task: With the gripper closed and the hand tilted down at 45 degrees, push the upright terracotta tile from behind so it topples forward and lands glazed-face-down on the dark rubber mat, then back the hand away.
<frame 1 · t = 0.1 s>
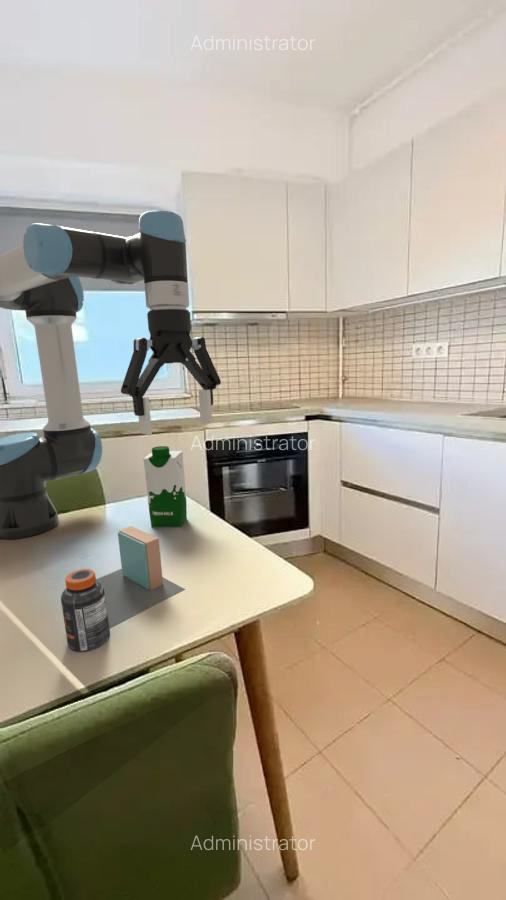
hand: (177, 428, 83), 28 cm above the table, tool pointing down, fingers open, 13 cm apart
tile: (142, 579, 83), point 1 cm above the table, touching mat
milk carton: (169, 524, 111), on the table
pill bottle: (90, 644, 66), on the table
mat: (123, 595, 79), on the table
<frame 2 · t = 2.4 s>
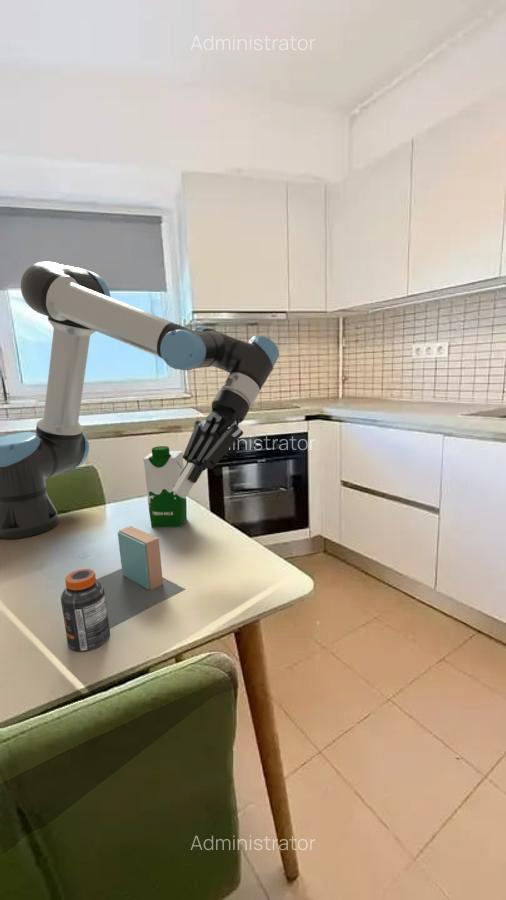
hand: (178, 494, 86), 15 cm above the table, tool tilted 45°, fingers closed
nothing on the table moved.
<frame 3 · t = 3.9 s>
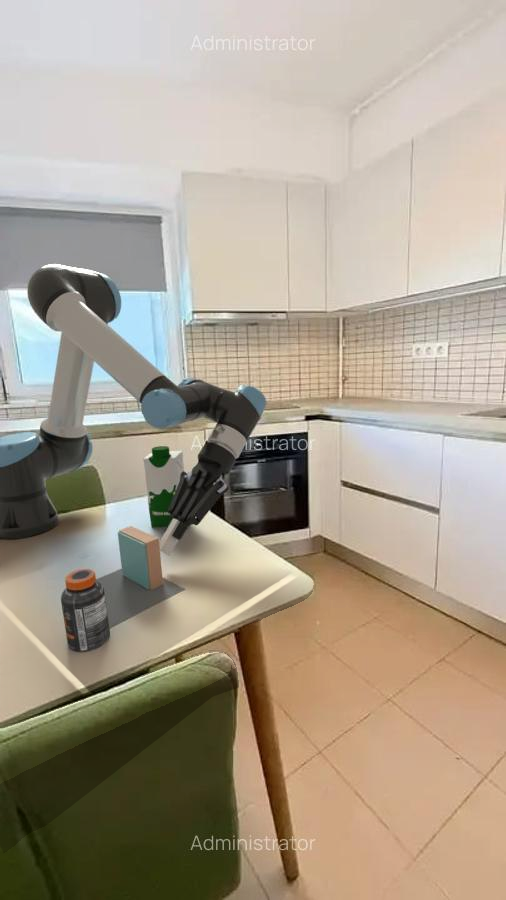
hand: (162, 551, 85), 5 cm above the table, tool tilted 45°, fingers closed
nothing on the table moved.
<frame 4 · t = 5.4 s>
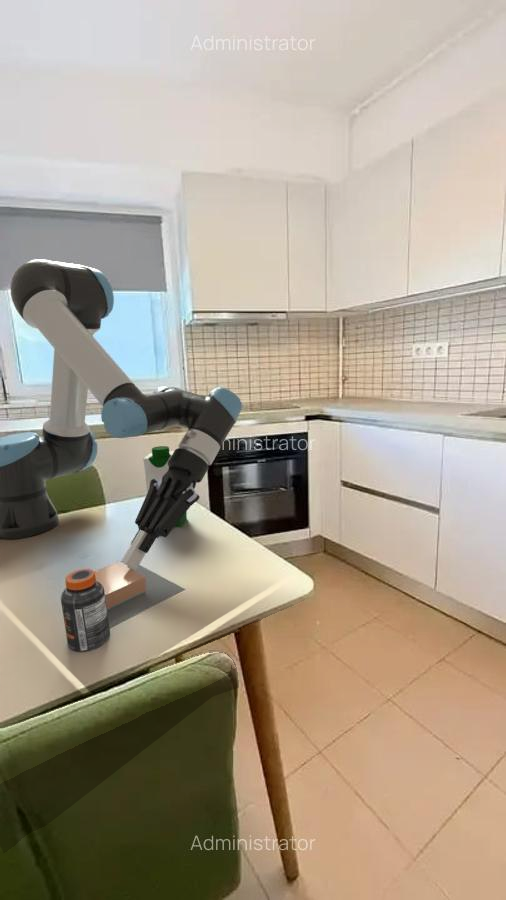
hand: (128, 565, 80), 5 cm above the table, tool tilted 45°, fingers closed
tile: (131, 576, 81), point 2 cm above the table, tilted 90°, touching gripper, mat
everything else where it was.
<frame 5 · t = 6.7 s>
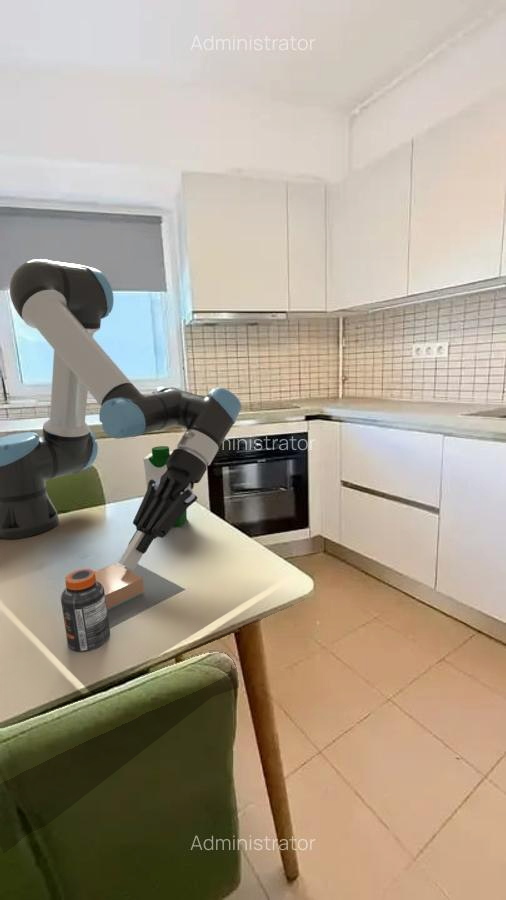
hand: (125, 566, 80), 5 cm above the table, tool tilted 45°, fingers closed
tile: (129, 577, 80), point 2 cm above the table, tilted 90°, touching mat
everything else where it was.
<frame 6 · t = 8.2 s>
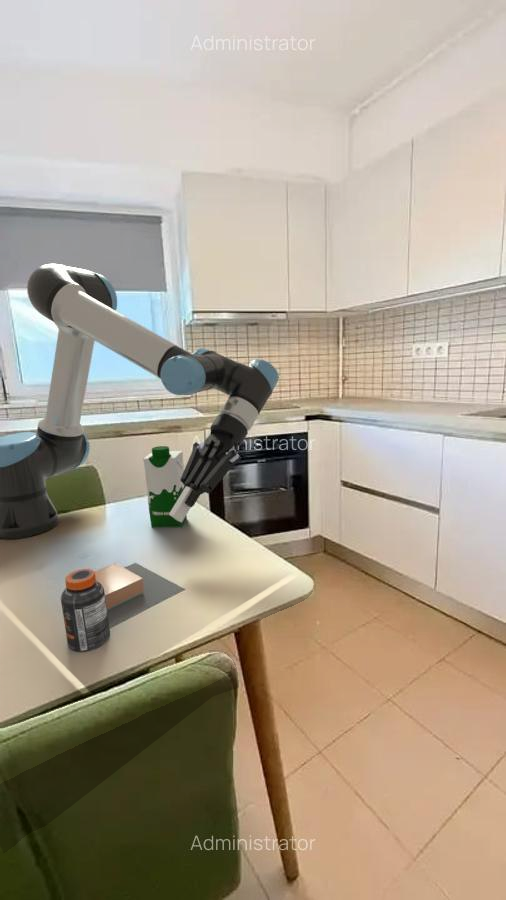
hand: (175, 518, 87), 10 cm above the table, tool tilted 45°, fingers closed
nothing on the table moved.
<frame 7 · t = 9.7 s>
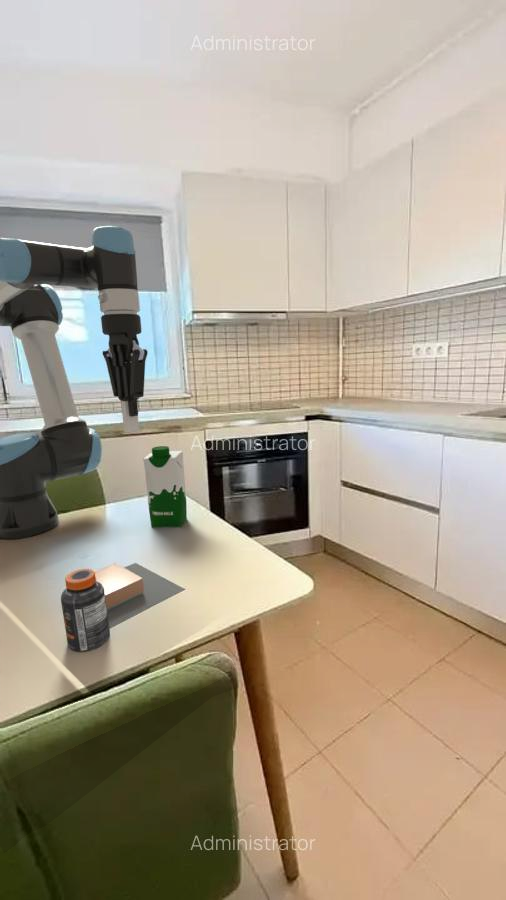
hand: (131, 431, 93), 26 cm above the table, tool pointing down, fingers closed
nothing on the table moved.
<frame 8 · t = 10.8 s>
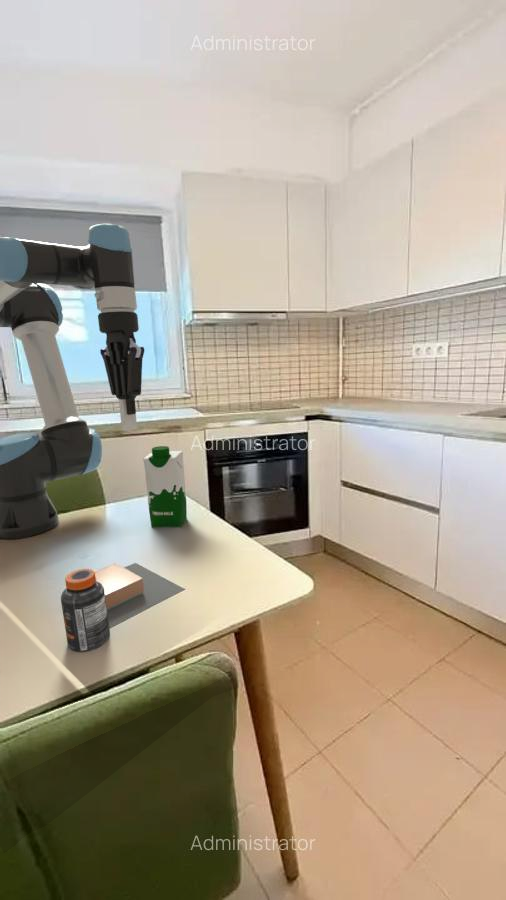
hand: (129, 429, 93), 26 cm above the table, tool pointing down, fingers closed
nothing on the table moved.
at the end: tile tilted 90°; tile inside the target area on the mat (2.4 cm from its centre), point 2.3 cm above the mat's base; the gripper is holding nothing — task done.
